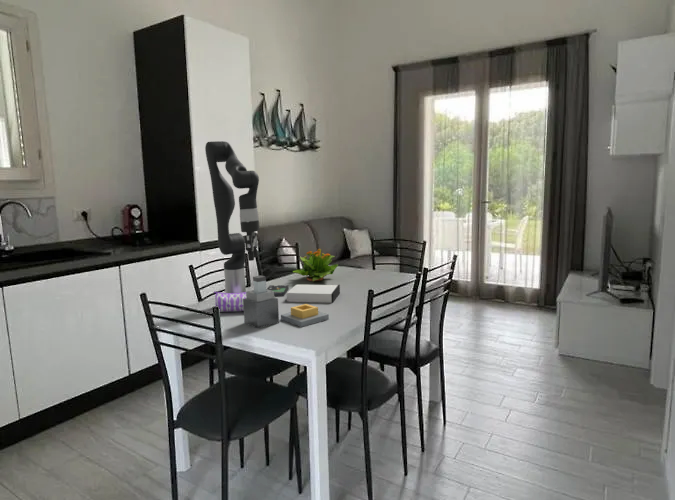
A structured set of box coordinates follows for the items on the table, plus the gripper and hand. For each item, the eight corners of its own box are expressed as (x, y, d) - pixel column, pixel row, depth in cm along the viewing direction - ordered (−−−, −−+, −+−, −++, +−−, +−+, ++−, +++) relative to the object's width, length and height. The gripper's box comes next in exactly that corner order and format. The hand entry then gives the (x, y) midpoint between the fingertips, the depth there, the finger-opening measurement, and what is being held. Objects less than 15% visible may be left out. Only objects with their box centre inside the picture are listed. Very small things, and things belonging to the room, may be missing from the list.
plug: (254, 298, 182) (253, 276, 181) (261, 297, 184) (260, 275, 183) (259, 300, 179) (257, 278, 178) (266, 298, 182) (265, 276, 180)
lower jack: (280, 319, 187) (280, 307, 186) (307, 312, 196) (307, 301, 195) (301, 326, 177) (300, 314, 176) (328, 319, 186) (328, 307, 185)
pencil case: (265, 306, 208) (264, 286, 207) (266, 311, 199) (265, 290, 198) (215, 310, 204) (214, 289, 202) (214, 316, 195) (213, 294, 194)
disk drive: (269, 290, 241) (263, 297, 226) (269, 285, 240) (263, 291, 226) (289, 290, 240) (284, 296, 225) (288, 284, 240) (284, 291, 225)
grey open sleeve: (244, 322, 184) (242, 291, 182) (265, 317, 190) (263, 287, 188) (257, 328, 176) (255, 295, 174) (279, 322, 183) (277, 291, 181)
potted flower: (286, 282, 255) (285, 252, 252) (301, 274, 277) (300, 246, 275) (328, 284, 248) (327, 253, 245) (340, 275, 270) (340, 246, 267)
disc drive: (333, 303, 211) (333, 293, 210) (286, 302, 215) (286, 292, 214) (340, 294, 228) (339, 284, 227) (297, 293, 232) (296, 283, 231)
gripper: (243, 219, 193) (247, 257, 195) (236, 221, 179) (240, 262, 181) (261, 218, 193) (264, 255, 195) (255, 220, 179) (259, 260, 181)
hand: (253, 258), depth 188 cm, fingers open, 8 cm apart
